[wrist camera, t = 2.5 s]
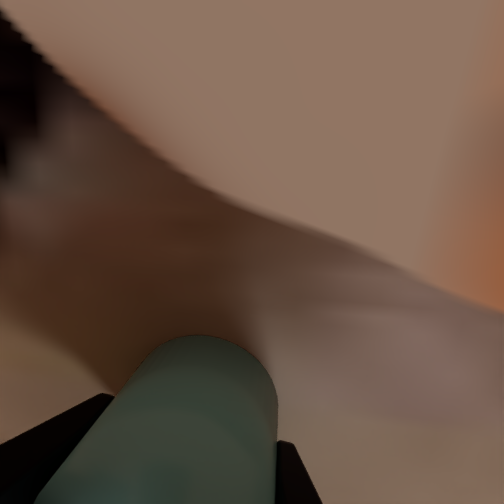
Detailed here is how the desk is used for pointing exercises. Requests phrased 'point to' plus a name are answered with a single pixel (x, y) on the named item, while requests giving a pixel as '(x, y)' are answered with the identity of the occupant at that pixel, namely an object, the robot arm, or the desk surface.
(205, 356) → the teal cylinder
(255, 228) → the desk surface
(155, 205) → the desk surface
